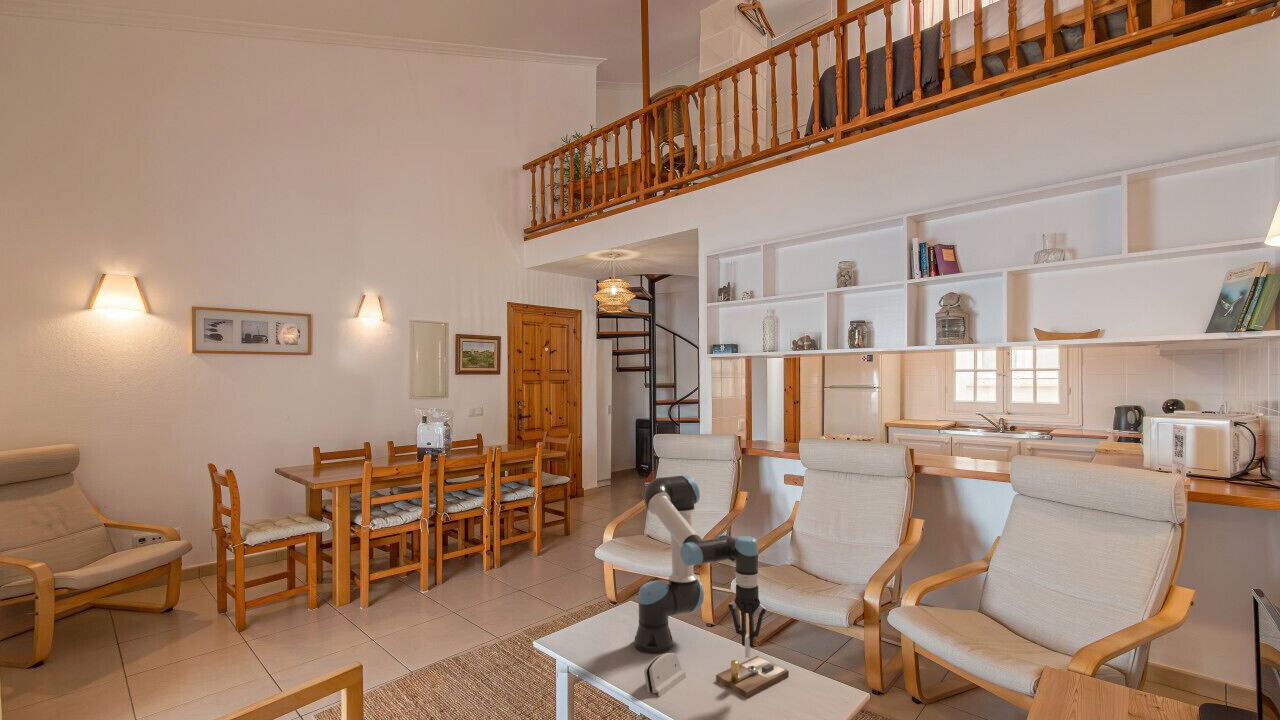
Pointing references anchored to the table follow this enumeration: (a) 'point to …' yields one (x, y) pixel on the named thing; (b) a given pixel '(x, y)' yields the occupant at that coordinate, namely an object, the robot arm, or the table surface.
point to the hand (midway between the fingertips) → (748, 655)
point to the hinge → (663, 673)
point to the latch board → (754, 677)
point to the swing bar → (739, 676)
